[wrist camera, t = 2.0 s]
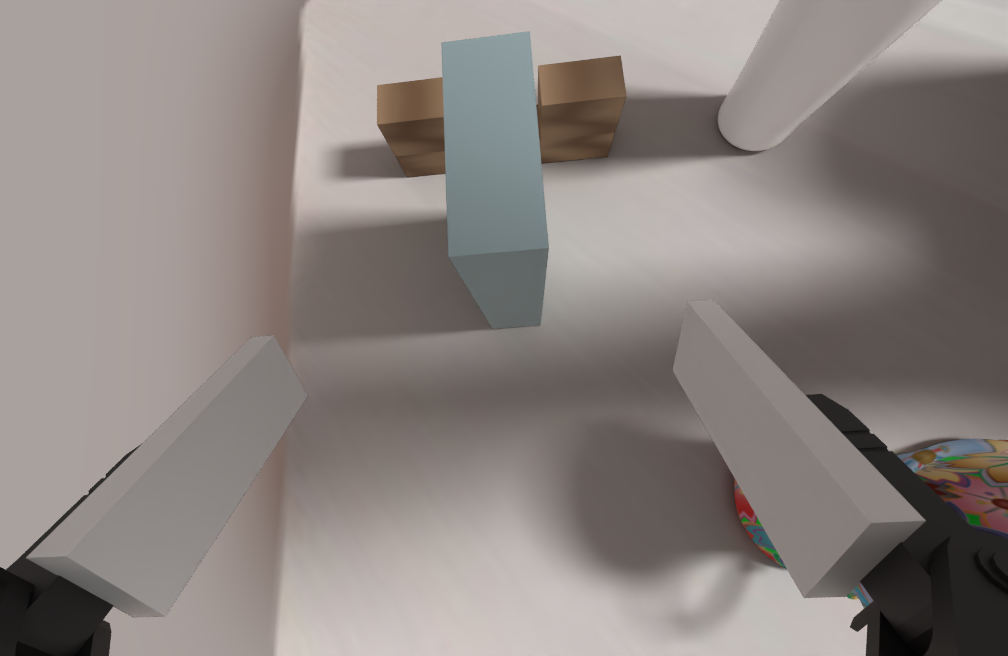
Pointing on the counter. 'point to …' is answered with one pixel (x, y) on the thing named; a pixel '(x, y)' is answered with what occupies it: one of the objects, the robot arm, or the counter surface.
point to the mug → (950, 474)
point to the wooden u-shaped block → (560, 111)
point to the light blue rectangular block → (495, 176)
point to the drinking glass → (808, 63)
